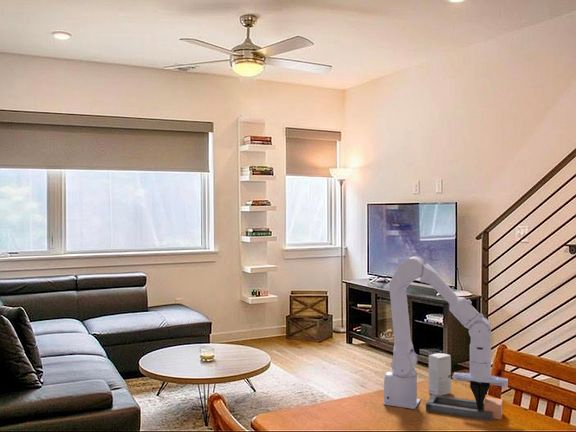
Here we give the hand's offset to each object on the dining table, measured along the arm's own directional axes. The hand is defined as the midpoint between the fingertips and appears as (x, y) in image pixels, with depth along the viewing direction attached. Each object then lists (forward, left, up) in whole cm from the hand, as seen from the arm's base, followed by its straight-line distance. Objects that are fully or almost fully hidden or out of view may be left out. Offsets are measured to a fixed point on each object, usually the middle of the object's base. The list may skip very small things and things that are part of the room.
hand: (480, 408), depth 155 cm
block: (+4, 0, -1) cm, 4 cm away
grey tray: (-5, 0, -1) cm, 6 cm away
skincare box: (-13, +13, -2) cm, 19 cm away
